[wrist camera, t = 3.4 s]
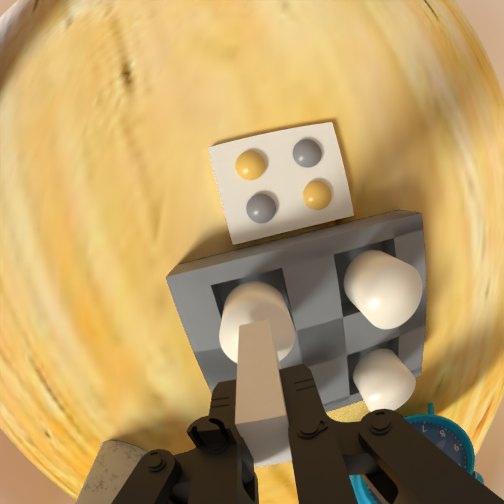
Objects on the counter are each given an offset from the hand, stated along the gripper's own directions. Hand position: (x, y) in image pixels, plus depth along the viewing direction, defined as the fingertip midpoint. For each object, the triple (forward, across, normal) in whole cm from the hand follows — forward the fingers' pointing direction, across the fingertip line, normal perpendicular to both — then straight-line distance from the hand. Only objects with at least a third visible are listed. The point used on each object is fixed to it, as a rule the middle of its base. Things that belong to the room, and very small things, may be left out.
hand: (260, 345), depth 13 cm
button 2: (+4, +8, 0) cm, 9 cm away
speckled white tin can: (+8, -22, -21) cm, 31 cm away
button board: (+7, +4, -4) cm, 9 cm away
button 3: (+4, +8, -8) cm, 12 cm away
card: (+7, +4, +8) cm, 11 cm away
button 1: (+4, 0, 0) cm, 4 cm away
